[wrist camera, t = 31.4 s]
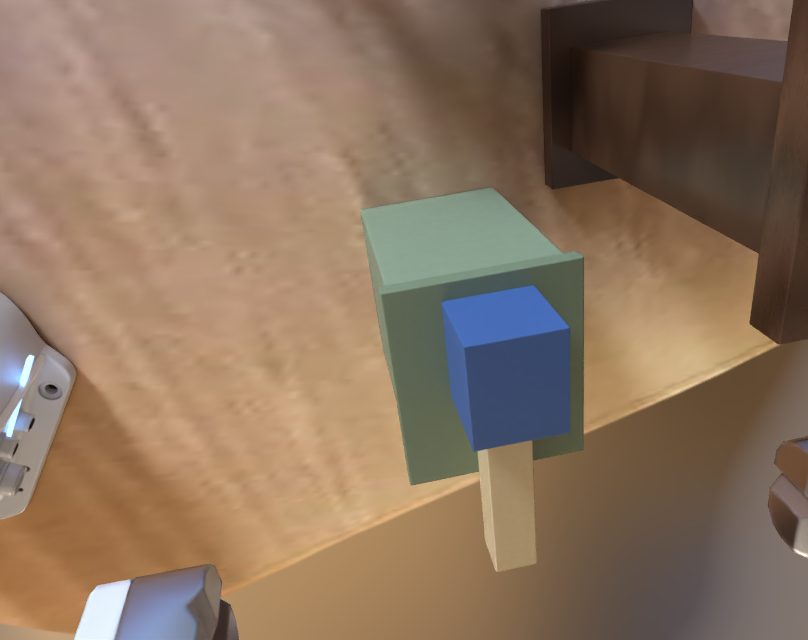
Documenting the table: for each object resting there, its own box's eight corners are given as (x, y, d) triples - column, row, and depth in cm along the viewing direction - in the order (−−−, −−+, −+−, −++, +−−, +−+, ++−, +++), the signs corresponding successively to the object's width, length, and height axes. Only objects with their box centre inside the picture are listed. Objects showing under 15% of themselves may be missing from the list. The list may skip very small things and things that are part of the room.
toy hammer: (541, 529, 42) (571, 591, 37) (466, 544, 41) (487, 610, 37) (534, 284, 34) (570, 327, 29) (441, 301, 33) (463, 347, 29)
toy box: (506, 331, 54) (583, 450, 39) (379, 355, 53) (410, 486, 38) (497, 180, 48) (584, 256, 33) (353, 205, 47) (380, 293, 33)
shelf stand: (670, 169, 49) (977, 306, 27) (545, 191, 49) (756, 350, 26) (682, -21, 43) (1088, -44, 21) (539, 0, 43) (806, -1, 20)
